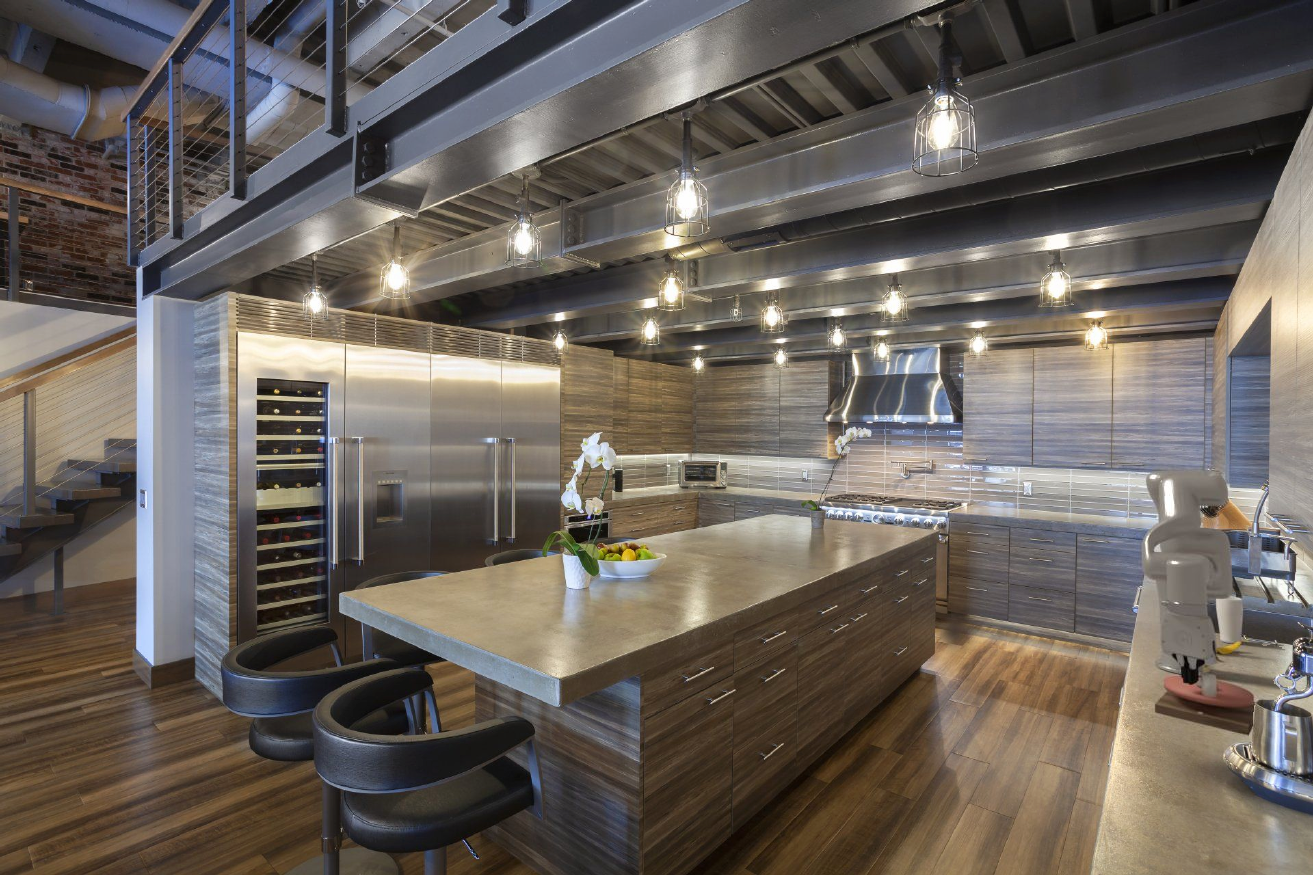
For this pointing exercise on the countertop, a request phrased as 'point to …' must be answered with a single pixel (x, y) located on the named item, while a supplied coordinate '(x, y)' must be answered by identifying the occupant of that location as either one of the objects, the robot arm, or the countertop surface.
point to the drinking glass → (1230, 619)
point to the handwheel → (1210, 691)
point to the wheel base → (1207, 713)
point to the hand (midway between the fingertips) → (1190, 682)
